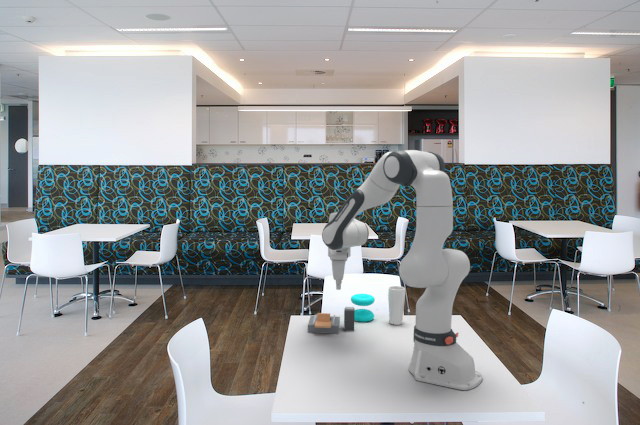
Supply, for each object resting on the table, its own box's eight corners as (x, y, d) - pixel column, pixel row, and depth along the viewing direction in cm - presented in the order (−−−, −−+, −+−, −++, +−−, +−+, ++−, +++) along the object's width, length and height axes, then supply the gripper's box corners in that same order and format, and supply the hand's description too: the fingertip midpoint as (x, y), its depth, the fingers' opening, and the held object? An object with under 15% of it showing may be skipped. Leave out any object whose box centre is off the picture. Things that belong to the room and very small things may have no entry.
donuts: (379, 295, 212) (365, 300, 204) (378, 318, 213) (365, 324, 205) (360, 291, 218) (346, 296, 211) (359, 314, 219) (345, 319, 212)
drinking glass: (405, 322, 208) (407, 287, 207) (401, 326, 202) (402, 290, 201) (390, 319, 211) (391, 285, 210) (385, 324, 205) (386, 288, 204)
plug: (354, 327, 201) (354, 306, 200) (354, 330, 197) (354, 309, 196) (344, 327, 201) (344, 306, 200) (344, 330, 197) (344, 309, 196)
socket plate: (339, 323, 205) (339, 315, 205) (338, 333, 193) (338, 324, 193) (310, 322, 206) (310, 314, 206) (307, 332, 194) (307, 323, 194)
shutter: (331, 322, 196) (331, 313, 196) (330, 328, 190) (330, 318, 190) (315, 322, 197) (316, 312, 197) (314, 327, 191) (314, 317, 190)
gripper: (332, 247, 206) (332, 280, 208) (329, 256, 186) (329, 292, 187) (347, 247, 206) (347, 280, 207) (346, 256, 186) (346, 292, 187)
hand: (339, 286), depth 197 cm, fingers open, 8 cm apart
